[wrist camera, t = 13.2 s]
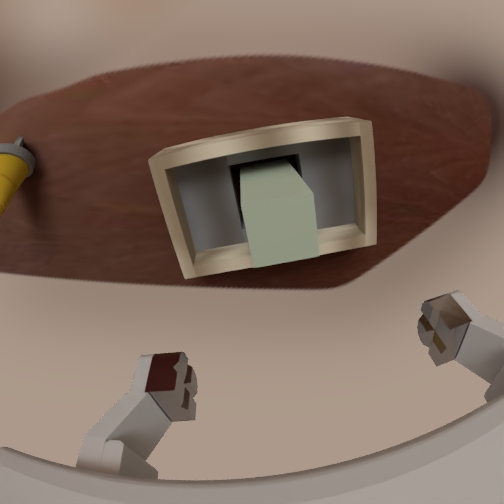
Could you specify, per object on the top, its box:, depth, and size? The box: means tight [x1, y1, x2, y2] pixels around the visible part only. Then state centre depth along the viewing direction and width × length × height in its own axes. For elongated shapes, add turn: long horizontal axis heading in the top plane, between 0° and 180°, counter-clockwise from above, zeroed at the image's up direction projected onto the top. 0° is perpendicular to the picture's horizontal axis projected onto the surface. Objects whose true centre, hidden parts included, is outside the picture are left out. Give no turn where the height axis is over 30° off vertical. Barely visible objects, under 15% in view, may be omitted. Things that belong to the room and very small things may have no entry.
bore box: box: [148, 117, 377, 279], centre depth 23 cm, size 16×10×5 cm, turn 100°
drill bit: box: [0, 135, 35, 217], centre depth 20 cm, size 5×5×10 cm
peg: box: [240, 159, 319, 268], centre depth 21 cm, size 4×4×10 cm
